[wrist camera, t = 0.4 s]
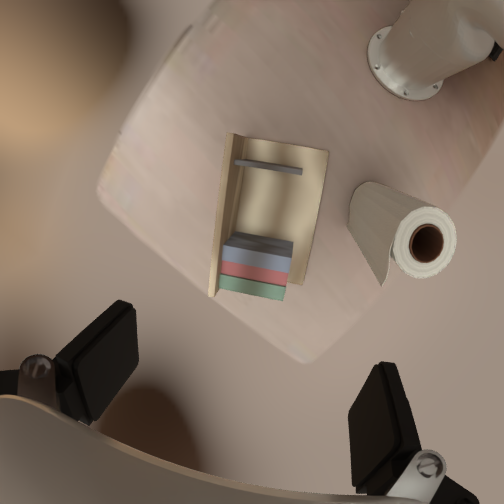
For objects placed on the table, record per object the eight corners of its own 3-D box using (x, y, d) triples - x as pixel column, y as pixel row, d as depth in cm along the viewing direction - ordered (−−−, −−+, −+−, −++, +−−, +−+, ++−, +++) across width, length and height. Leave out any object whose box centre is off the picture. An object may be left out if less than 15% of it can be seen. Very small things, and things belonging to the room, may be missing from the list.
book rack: (227, 266, 47) (208, 296, 37) (244, 138, 40) (226, 132, 30) (302, 281, 46) (301, 315, 36) (327, 151, 39) (336, 150, 29)
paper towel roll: (386, 178, 39) (457, 202, 19) (391, 218, 40) (457, 273, 20) (340, 185, 40) (376, 213, 20) (346, 226, 42) (381, 288, 22)
